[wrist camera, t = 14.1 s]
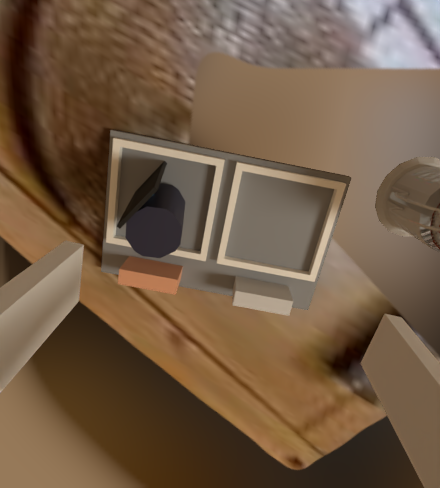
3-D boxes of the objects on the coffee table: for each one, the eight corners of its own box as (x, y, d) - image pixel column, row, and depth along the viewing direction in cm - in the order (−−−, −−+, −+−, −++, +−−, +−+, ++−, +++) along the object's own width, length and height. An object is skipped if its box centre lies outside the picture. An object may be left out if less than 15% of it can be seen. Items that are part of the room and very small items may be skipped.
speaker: (122, 180, 39) (96, 208, 30) (165, 159, 38) (153, 181, 29) (153, 234, 42) (138, 274, 33) (194, 216, 41) (191, 252, 32)
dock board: (114, 129, 39) (96, 131, 34) (348, 176, 39) (364, 183, 34) (104, 267, 45) (88, 285, 40) (306, 305, 46) (314, 327, 41)
